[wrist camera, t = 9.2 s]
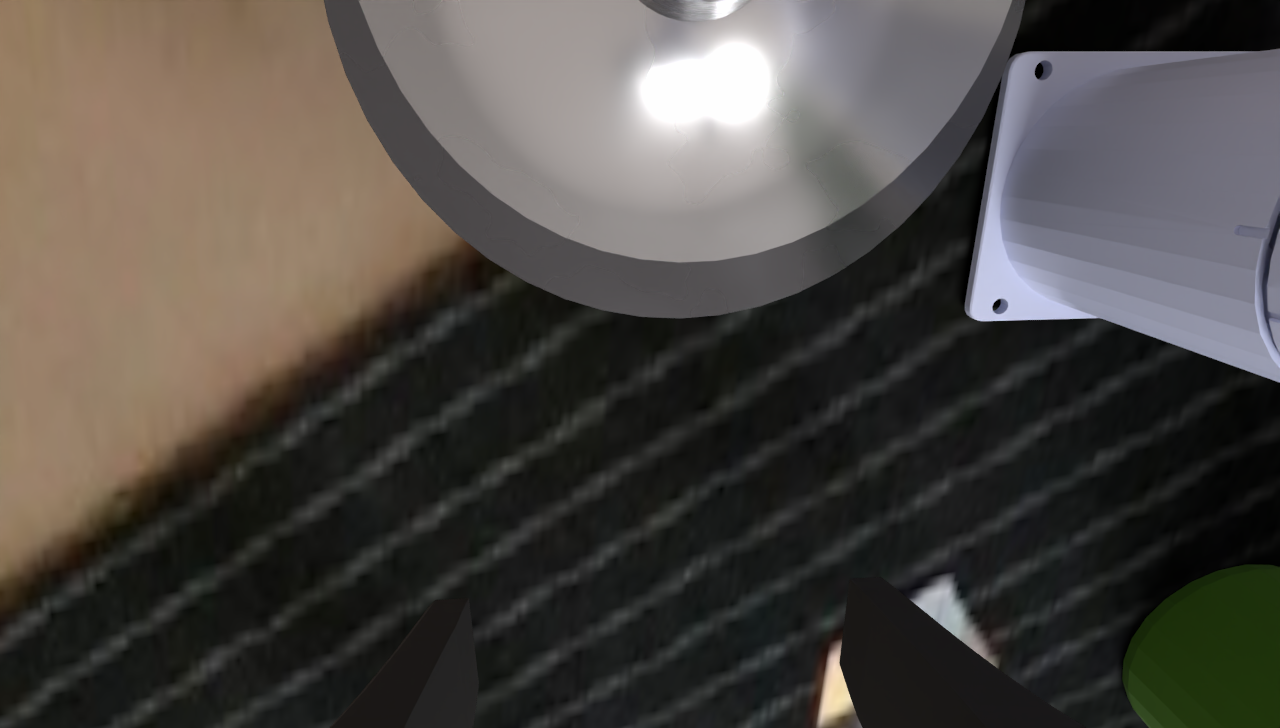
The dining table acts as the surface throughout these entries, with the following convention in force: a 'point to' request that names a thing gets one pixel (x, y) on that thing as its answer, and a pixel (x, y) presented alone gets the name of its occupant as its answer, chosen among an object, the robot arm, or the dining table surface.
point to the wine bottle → (1210, 654)
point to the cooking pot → (622, 277)
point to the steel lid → (685, 108)
